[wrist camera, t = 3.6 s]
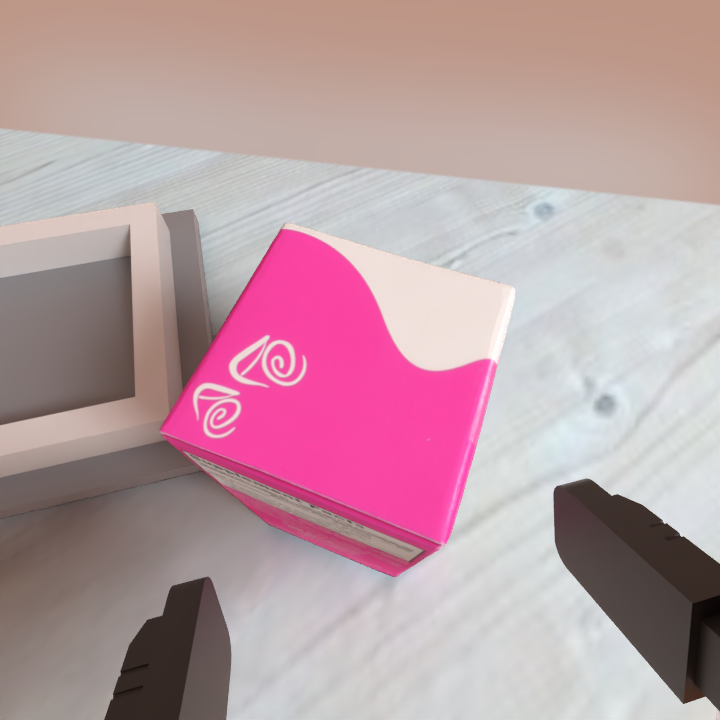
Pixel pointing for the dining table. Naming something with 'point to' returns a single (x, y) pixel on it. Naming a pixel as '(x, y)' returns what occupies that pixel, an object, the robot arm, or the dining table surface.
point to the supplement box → (347, 396)
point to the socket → (96, 351)
